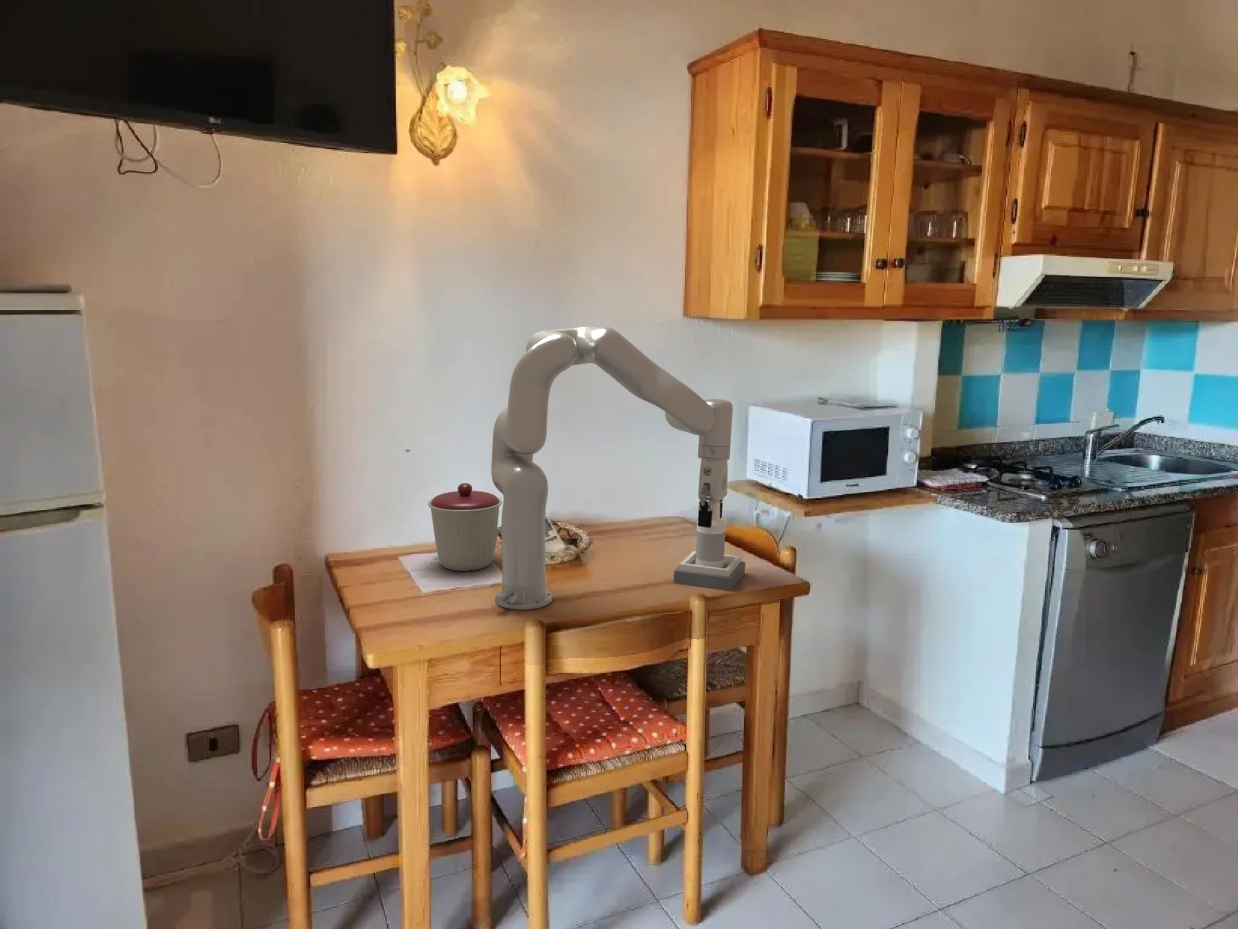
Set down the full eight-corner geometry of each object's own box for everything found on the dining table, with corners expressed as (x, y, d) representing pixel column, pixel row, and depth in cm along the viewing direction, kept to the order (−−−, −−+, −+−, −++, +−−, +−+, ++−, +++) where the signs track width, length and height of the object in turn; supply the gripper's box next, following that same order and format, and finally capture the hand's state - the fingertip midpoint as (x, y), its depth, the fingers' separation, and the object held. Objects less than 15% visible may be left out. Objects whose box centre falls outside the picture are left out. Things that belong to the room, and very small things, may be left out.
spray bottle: (692, 568, 204) (695, 495, 200) (698, 560, 210) (701, 489, 207) (721, 571, 202) (724, 498, 198) (726, 563, 208) (729, 491, 205)
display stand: (731, 590, 198) (732, 572, 197) (673, 582, 202) (674, 564, 202) (744, 573, 210) (745, 555, 210) (690, 566, 215) (690, 549, 214)
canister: (416, 563, 214) (413, 482, 210) (477, 550, 226) (476, 473, 222) (453, 581, 201) (451, 495, 197) (516, 567, 213) (516, 484, 209)
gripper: (720, 459, 191) (715, 532, 194) (738, 448, 207) (733, 516, 210) (688, 455, 194) (684, 528, 197) (708, 445, 210) (704, 513, 213)
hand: (709, 522), depth 204 cm, fingers open, 9 cm apart
